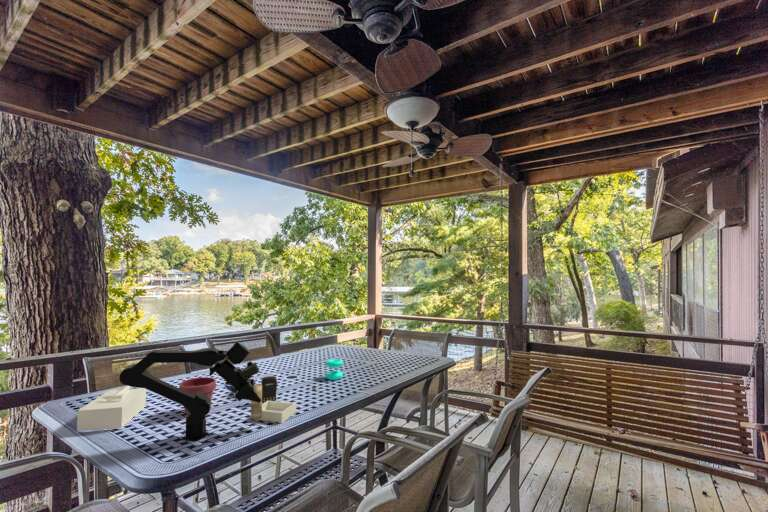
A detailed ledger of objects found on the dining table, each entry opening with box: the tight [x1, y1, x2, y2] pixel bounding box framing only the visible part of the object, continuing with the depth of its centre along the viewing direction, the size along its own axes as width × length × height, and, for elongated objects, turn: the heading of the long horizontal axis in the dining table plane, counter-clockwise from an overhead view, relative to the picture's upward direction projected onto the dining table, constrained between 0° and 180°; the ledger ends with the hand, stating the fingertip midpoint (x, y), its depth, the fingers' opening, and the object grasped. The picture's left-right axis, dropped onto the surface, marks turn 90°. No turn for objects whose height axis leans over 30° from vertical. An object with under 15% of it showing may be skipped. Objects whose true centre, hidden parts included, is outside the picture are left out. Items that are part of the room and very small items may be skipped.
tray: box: [256, 400, 297, 424], centre depth 155 cm, size 12×14×4 cm
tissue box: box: [76, 385, 147, 432], centre depth 152 cm, size 14×25×11 cm, turn 15°
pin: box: [250, 383, 263, 421], centre depth 142 cm, size 4×4×12 cm
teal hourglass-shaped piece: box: [325, 358, 344, 381], centre depth 212 cm, size 10×10×10 cm
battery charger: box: [260, 375, 278, 404], centre depth 172 cm, size 7×4×11 cm, turn 113°
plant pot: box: [178, 376, 217, 416], centre depth 160 cm, size 14×14×13 cm
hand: (260, 399), depth 143 cm, fingers closed on pin, 4 cm apart
